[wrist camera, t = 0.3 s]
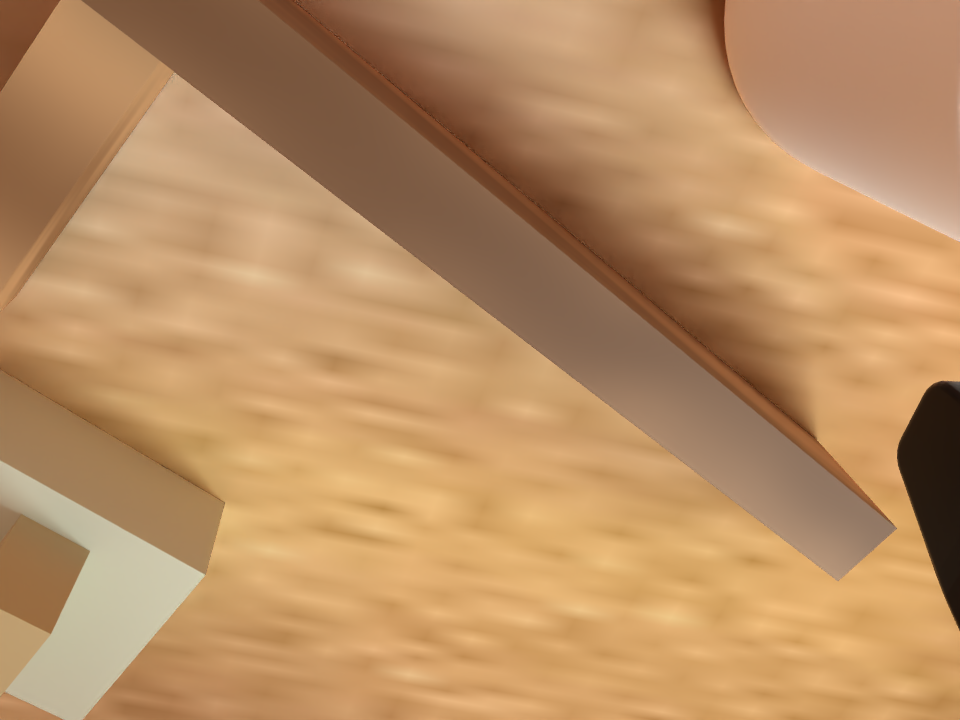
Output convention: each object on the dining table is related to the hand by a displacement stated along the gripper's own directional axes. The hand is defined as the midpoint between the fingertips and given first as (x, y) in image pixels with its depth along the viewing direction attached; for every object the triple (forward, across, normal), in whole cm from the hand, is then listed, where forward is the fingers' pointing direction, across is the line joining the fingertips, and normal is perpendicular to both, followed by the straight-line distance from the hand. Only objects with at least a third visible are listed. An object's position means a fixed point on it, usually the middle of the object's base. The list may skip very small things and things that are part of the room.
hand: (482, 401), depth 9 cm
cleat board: (+13, -1, +9) cm, 16 cm away
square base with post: (+13, +9, +14) cm, 21 cm away
